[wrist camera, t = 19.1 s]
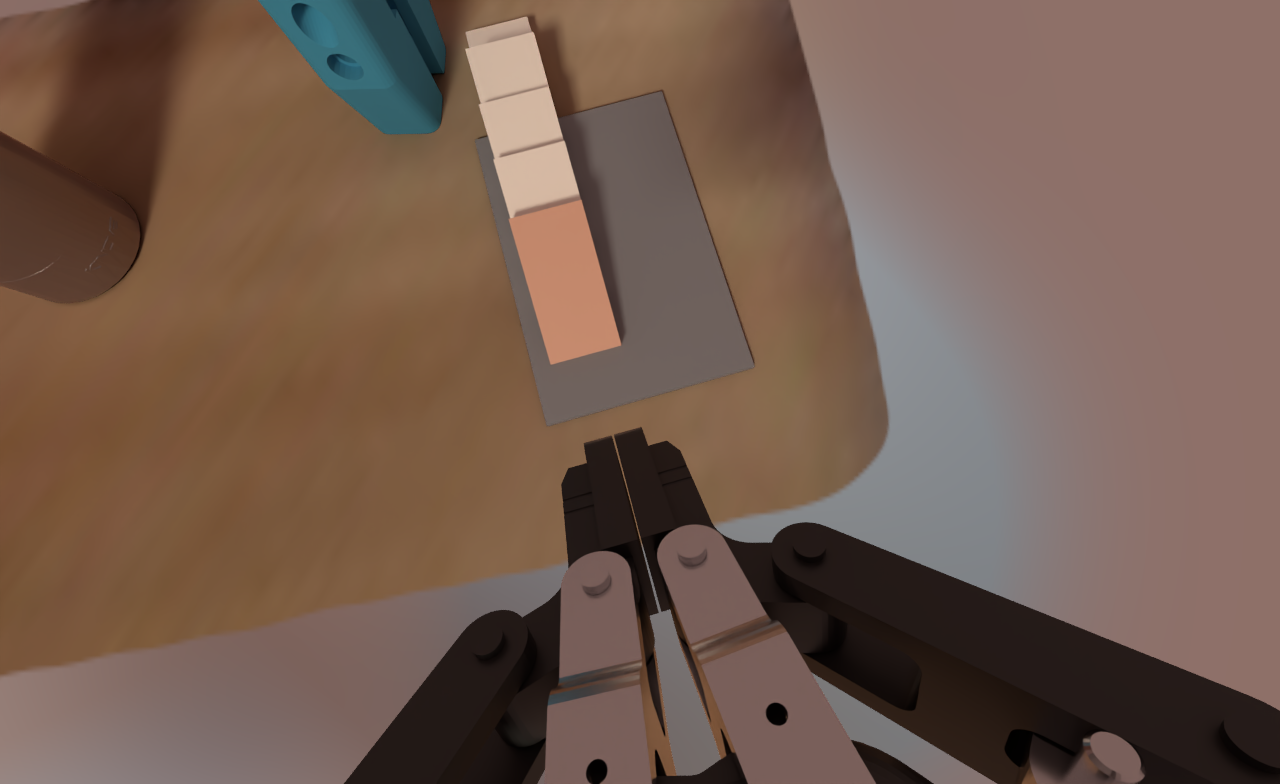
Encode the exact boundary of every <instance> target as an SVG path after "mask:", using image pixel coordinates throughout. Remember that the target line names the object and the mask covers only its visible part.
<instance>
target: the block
mask: <svg viewBox="0 0 1280 784" xmlns="http://www.w3.org/2000/svg"><path fill="white" fill-rule="evenodd" d="M258 1H259V2H260V3H261V4H262V6H263V7H264V8H265V9H266V11H267V12H268V13H269V14H270V16H271V17H272V18H273V19H274V21H275V22H276V23H277V24H278V26H279V27H280V28H281V29H282V31H283V32H284V33H285V34H286V36H287V37H288V38H289V39H290V41H291V42H292V43H293V44H294V46H295V47H296V48H297V49H298V51H299V52H300V53H301V54H302V56H303V57H304V58H305V59H306V61H307V62H308V63H309V64H310V66H311V67H312V68H313V69H314V71H315V72H316V73H317V74H318V76H319V77H320V78H321V79H322V81H323V82H324V83H325V84H326V86H328V87H329V88H330V89H331V90H332V91H334V92H335V93H336V94H337V95H338V96H340V97H341V98H342V99H343V100H344V101H346V102H347V103H348V104H349V105H350V106H352V107H353V108H354V109H355V110H356V111H358V112H359V113H360V114H361V115H362V116H363V117H365V118H366V119H367V120H368V121H369V122H371V123H372V124H373V125H374V126H375V127H377V128H378V129H379V130H380V131H382V132H383V133H385V134H423V133H432V132H434V131H436V130H437V129H438V128H439V126H440V124H441V114H442V100H443V98H442V94H441V92H440V91H439V89H438V87H437V85H436V83H435V81H434V79H433V77H432V75H431V73H444V71H445V57H446V48H445V45H444V42H443V39H442V36H441V33H440V30H439V27H438V25H437V22H436V19H435V16H434V13H433V10H432V7H431V5H430V2H429V0H258Z"/></svg>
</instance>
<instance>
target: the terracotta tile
mask: <svg viewBox="0 0 1280 784" xmlns="http://www.w3.org/2000/svg"><path fill="white" fill-rule="evenodd" d="M509 222H510V226H511V229H512V233H513V236H514V240H515V243H516V247H517V250H518V254H519V257H520V260H521V264H522V267H523V271H524V274H525V278H526V281H527V285H528V288H529V292H530V295H531V299H532V302H533V305H534V309H535V312H536V316H537V319H538V323H539V326H540V330H541V333H542V337H543V340H544V344H545V347H546V350H547V354H548V357H549V361H550V364H551V365H552V364H556V363H559V362H563V361H567V360H570V359H574V358H578V357H581V356H585V355H588V354H592V353H596V352H599V351H603V350H607V349H610V348H614V347H618V346H621V342H620V338H619V334H618V331H617V327H616V323H615V320H614V316H613V312H612V309H611V305H610V302H609V298H608V294H607V291H606V287H605V283H604V280H603V276H602V272H601V269H600V265H599V262H598V258H597V254H596V251H595V247H594V243H593V240H592V236H591V233H590V229H589V225H588V222H587V218H586V214H585V211H584V207H583V203H582V200H579V201H575V202H571V203H567V204H564V205H560V206H556V207H552V208H548V209H545V210H541V211H537V212H533V213H529V214H525V215H522V216H518V217H514V218H510V219H509Z"/></svg>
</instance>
